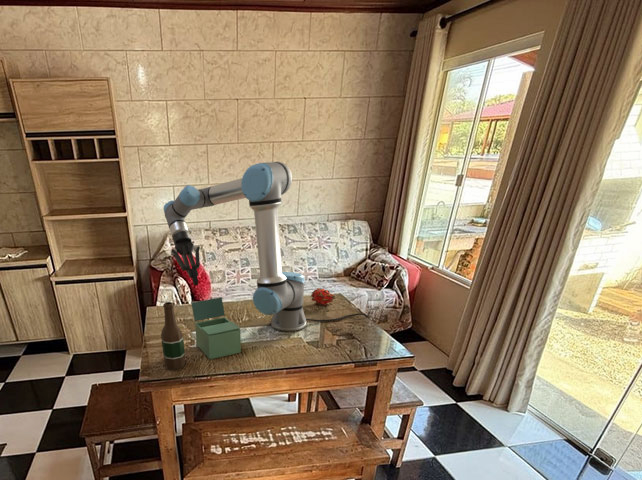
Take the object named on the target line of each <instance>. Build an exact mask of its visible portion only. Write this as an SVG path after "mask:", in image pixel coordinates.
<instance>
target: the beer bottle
mask: <svg viewBox="0 0 642 480" xmlns="http://www.w3.org/2000/svg"><path fill="white" fill-rule="evenodd" d="M162 307H163V312H164V313H163V314H164V326H163V327H162V329H161V334H160V338H161V339H160V341H161V346H162V353H163V354H162V357H163V361H164V366H165V367H166V369H167V370H173V371H176V370H179V369H183V367H184V366H186V354H185V343H184V335H183V332H182V329H181V328H180V327H179V326H178V324H177V319H176V314H175V308H174V307H175V305H174V303H173V302H172V301H167V302H164V303H162Z"/></svg>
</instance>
